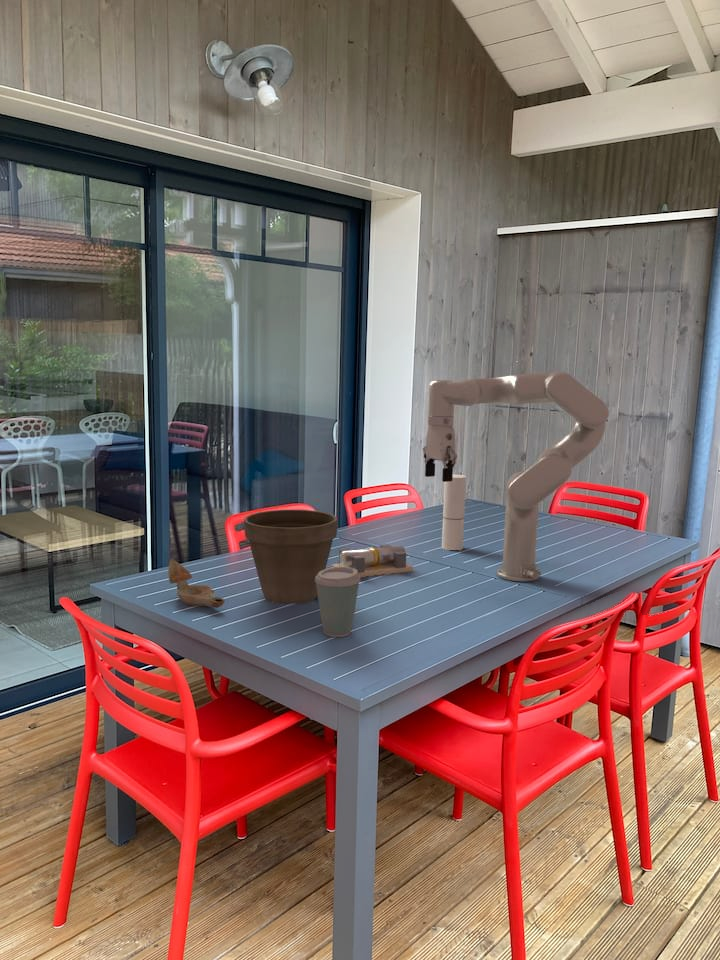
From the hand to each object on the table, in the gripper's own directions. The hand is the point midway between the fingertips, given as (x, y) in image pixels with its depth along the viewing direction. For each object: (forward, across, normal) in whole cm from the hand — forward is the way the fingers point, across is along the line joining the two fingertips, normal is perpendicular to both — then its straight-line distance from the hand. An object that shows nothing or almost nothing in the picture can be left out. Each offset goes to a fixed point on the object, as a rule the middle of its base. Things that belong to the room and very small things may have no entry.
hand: (438, 478), depth 231 cm
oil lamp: (+29, -4, +75) cm, 80 cm away
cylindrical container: (+28, +21, -20) cm, 41 cm away
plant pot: (+28, -7, +50) cm, 58 cm away
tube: (+27, +7, +18) cm, 33 cm away
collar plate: (+28, +7, +18) cm, 34 cm away
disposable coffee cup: (+28, -37, +50) cm, 68 cm away
